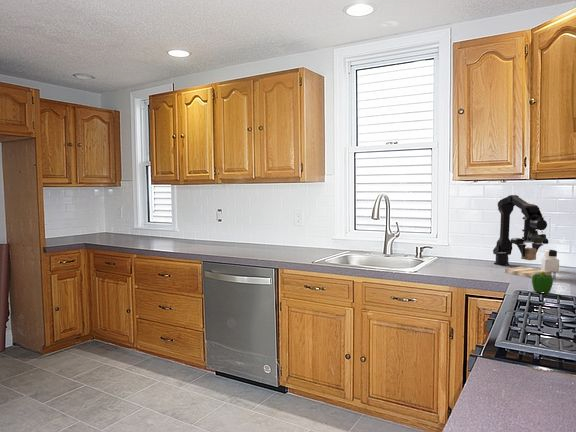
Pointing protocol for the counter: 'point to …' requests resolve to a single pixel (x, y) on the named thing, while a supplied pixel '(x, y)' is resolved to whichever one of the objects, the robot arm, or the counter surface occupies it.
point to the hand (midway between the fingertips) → (528, 256)
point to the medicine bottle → (550, 261)
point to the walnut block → (529, 254)
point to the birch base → (526, 271)
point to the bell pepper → (542, 282)
